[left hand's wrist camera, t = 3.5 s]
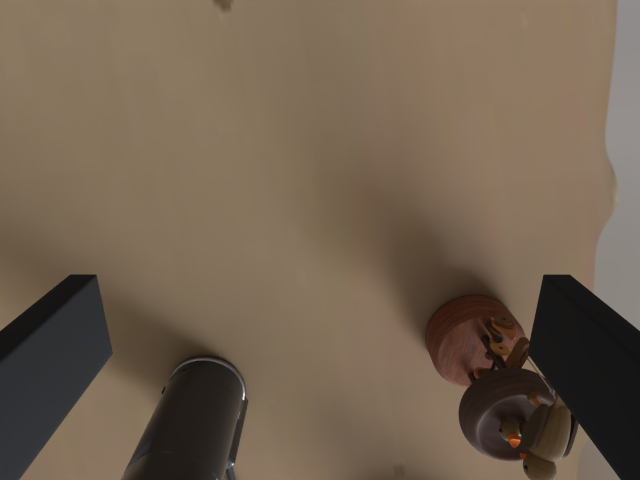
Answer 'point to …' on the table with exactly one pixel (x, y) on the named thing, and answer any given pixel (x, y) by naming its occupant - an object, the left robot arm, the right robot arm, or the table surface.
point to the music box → (500, 386)
